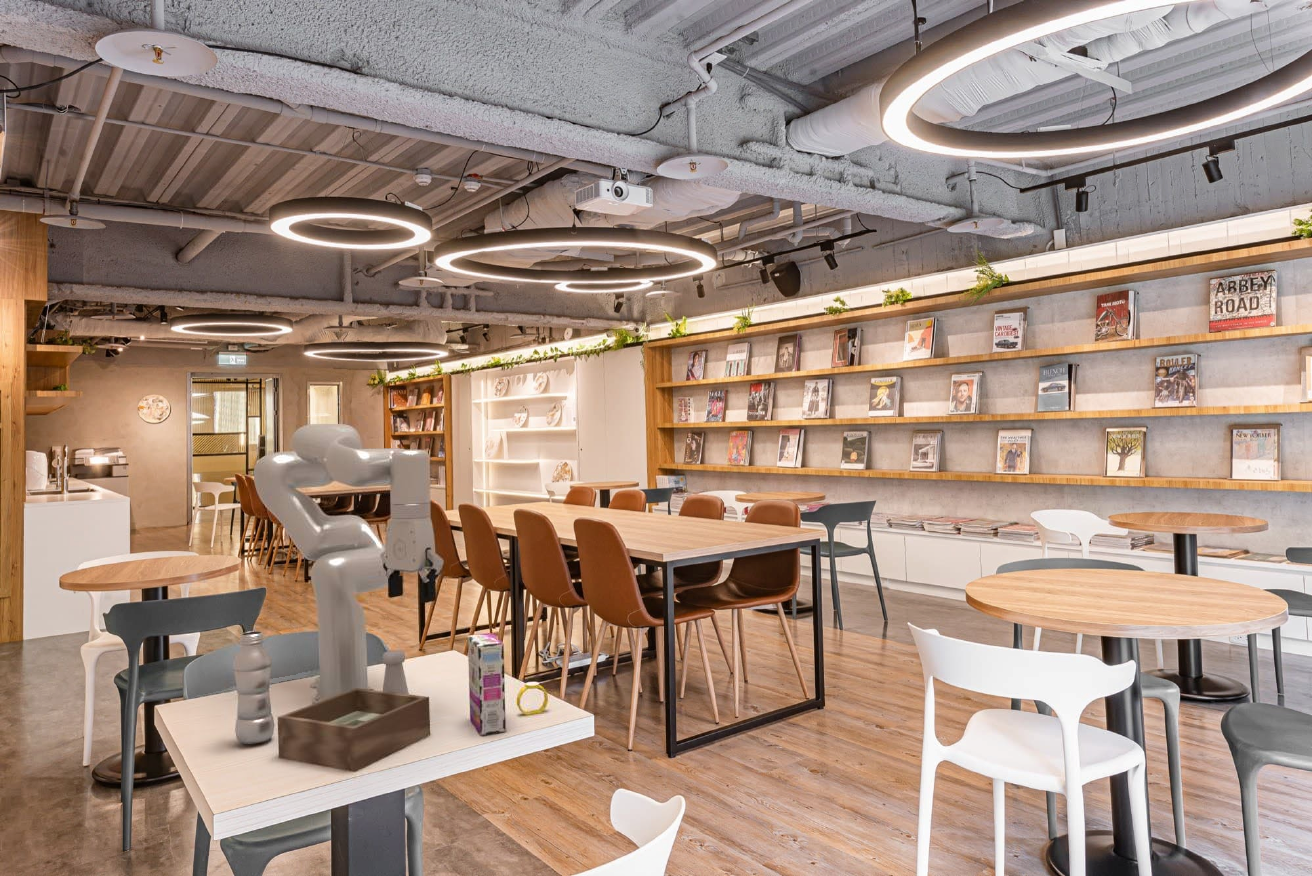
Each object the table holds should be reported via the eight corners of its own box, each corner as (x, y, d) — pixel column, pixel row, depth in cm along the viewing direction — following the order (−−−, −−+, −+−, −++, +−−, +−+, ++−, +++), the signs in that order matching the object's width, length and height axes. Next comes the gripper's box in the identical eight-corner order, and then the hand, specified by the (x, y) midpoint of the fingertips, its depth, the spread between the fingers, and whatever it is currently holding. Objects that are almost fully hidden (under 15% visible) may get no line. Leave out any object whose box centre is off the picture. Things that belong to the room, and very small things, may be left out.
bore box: (278, 757, 143) (277, 717, 143) (357, 724, 159) (356, 688, 159) (355, 771, 135) (354, 728, 135) (430, 735, 151) (428, 697, 151)
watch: (544, 710, 164) (545, 680, 165) (548, 714, 162) (549, 683, 162) (515, 713, 162) (516, 682, 162) (518, 717, 159) (519, 686, 160)
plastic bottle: (249, 751, 147) (245, 638, 147) (227, 745, 150) (224, 635, 151) (282, 739, 152) (278, 631, 153) (260, 734, 156) (257, 628, 156)
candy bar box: (508, 732, 151) (504, 642, 152) (480, 737, 149) (477, 646, 150) (494, 715, 162) (491, 631, 162) (469, 719, 160) (466, 634, 160)
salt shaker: (401, 722, 159) (399, 655, 160) (374, 721, 161) (372, 654, 161) (416, 712, 165) (413, 647, 165) (390, 712, 166) (387, 647, 167)
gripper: (366, 512, 164) (367, 597, 164) (425, 516, 154) (426, 607, 154) (397, 508, 170) (398, 591, 170) (455, 512, 160) (456, 600, 161)
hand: (411, 599), depth 162 cm, fingers open, 9 cm apart
